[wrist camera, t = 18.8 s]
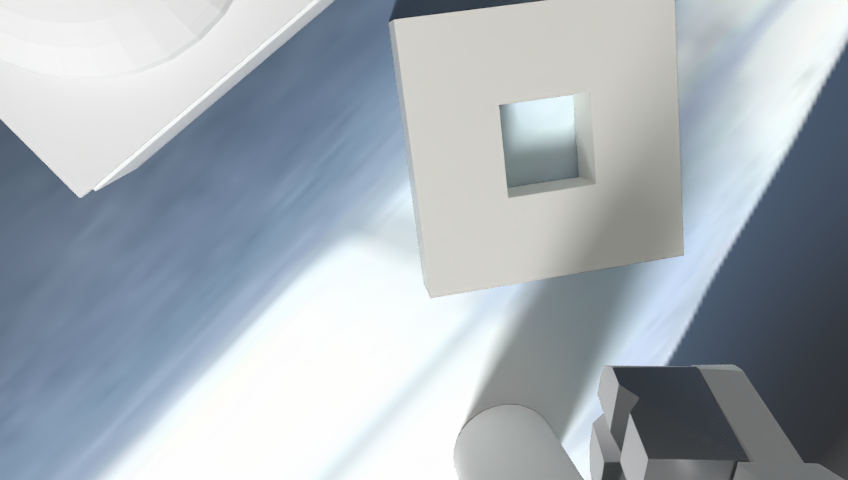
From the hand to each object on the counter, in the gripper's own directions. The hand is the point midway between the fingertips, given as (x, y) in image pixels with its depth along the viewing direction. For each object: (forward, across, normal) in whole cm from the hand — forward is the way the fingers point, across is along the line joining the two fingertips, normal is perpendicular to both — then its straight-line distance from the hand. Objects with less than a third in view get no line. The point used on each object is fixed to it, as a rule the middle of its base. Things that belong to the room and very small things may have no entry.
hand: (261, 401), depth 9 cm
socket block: (+36, -9, +8) cm, 38 cm away
